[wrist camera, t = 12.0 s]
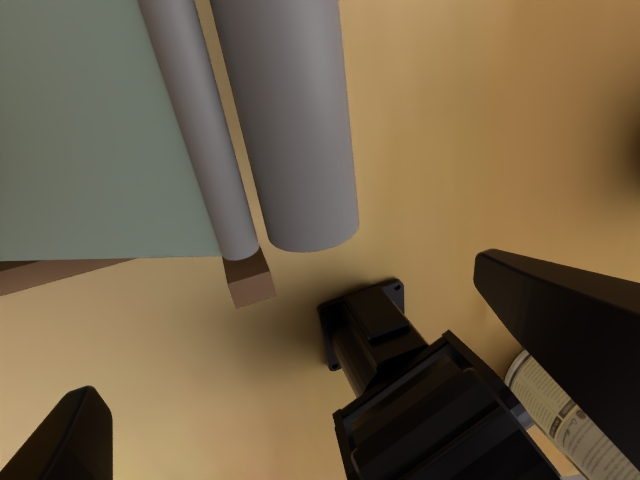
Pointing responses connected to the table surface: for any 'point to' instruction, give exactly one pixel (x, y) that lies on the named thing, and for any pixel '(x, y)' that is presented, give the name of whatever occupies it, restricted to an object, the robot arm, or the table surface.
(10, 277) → the trapdoor frame
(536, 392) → the coffee can
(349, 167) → the trapdoor
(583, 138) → the table surface
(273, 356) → the table surface
